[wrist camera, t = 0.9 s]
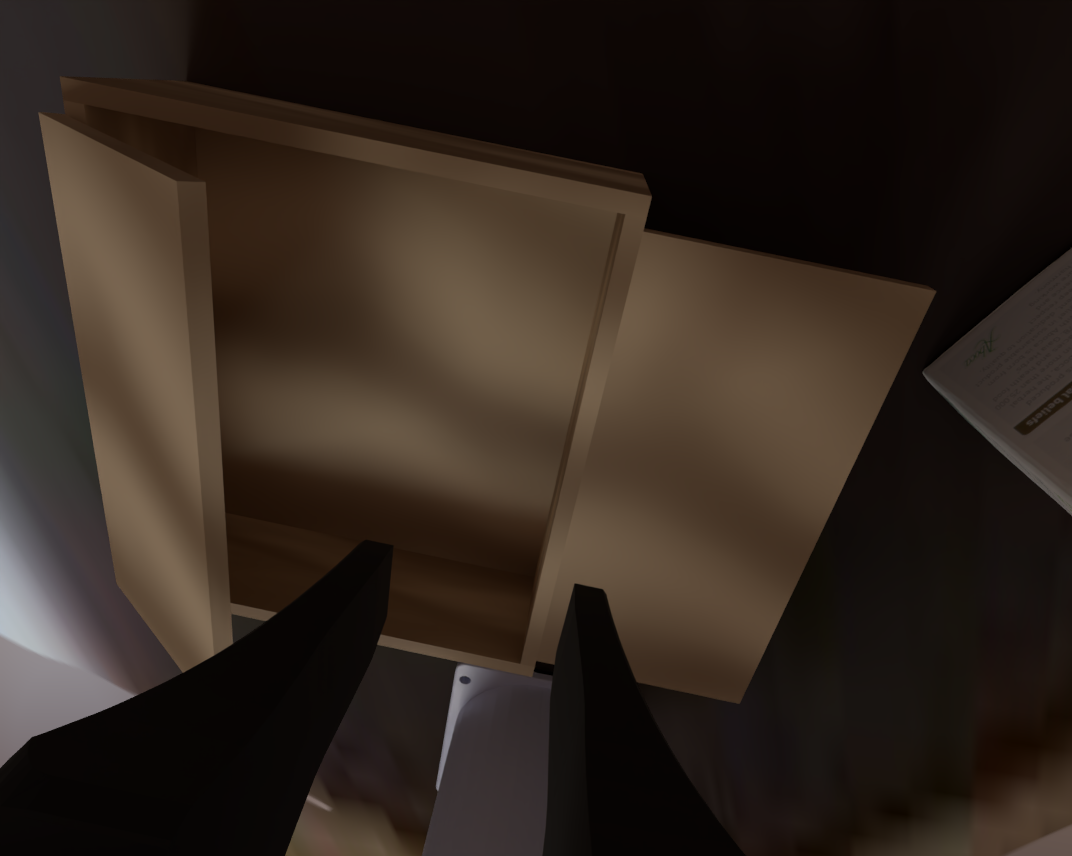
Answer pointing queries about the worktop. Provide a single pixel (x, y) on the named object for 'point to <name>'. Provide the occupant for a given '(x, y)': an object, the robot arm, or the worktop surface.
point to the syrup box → (1020, 379)
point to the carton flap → (148, 376)
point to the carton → (511, 385)
